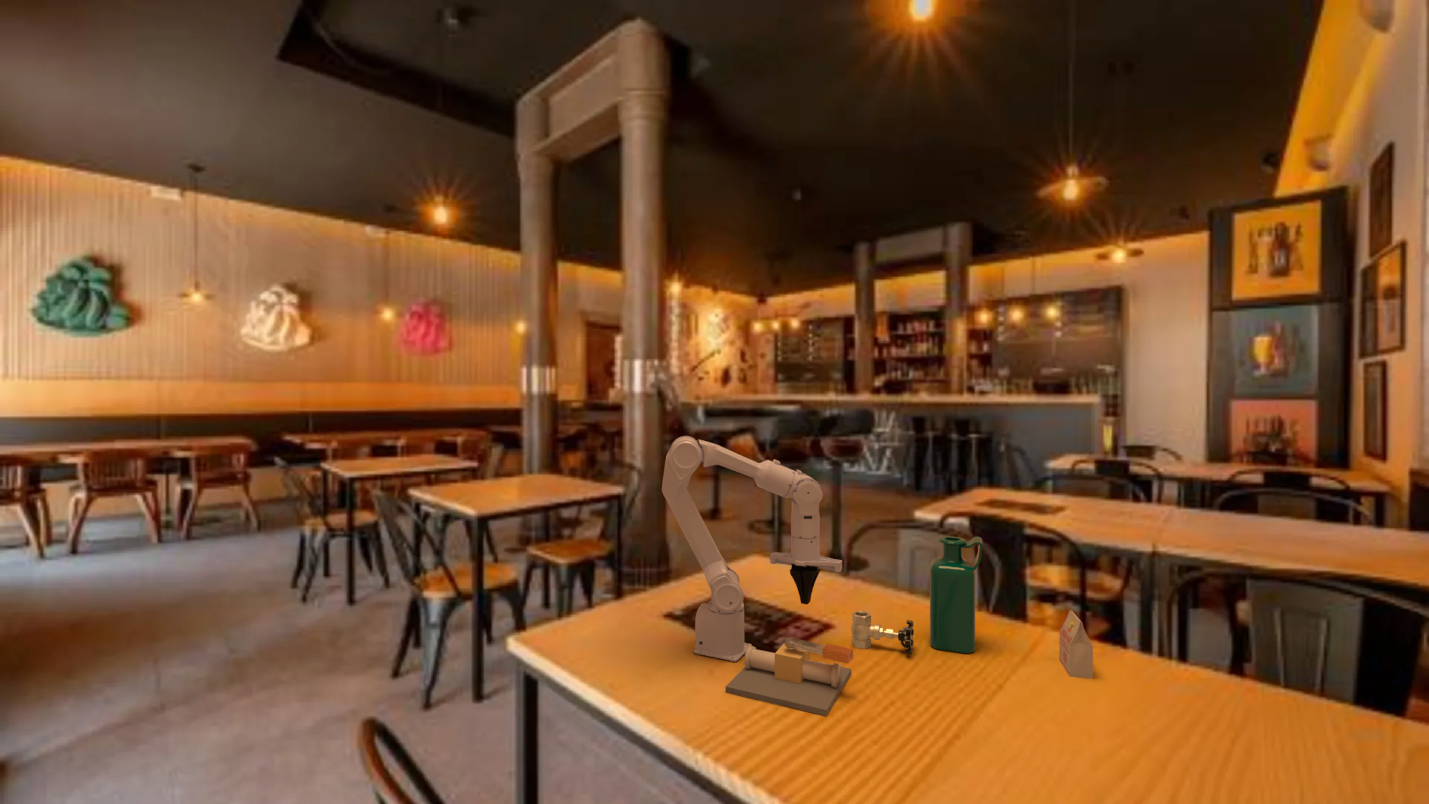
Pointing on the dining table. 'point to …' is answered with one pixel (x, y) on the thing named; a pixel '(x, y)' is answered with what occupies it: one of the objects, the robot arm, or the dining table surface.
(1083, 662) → the milk carton
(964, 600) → the pitcher
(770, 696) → the pipe board
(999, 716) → the dining table surface
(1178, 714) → the dining table surface
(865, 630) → the valve
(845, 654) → the valve lever
